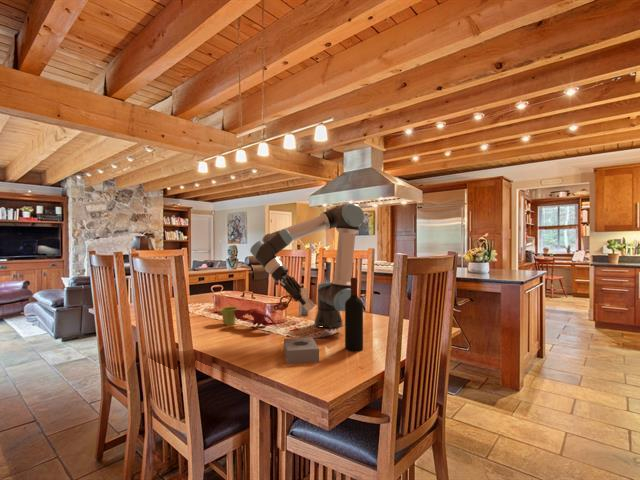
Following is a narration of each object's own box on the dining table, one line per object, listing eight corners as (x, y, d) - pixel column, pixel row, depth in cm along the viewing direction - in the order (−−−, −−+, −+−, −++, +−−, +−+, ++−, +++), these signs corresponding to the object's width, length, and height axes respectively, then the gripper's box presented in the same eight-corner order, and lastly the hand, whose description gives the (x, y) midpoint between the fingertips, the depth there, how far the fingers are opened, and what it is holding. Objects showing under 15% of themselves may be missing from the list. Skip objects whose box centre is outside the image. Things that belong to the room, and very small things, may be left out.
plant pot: (218, 326, 185) (218, 310, 185) (223, 322, 194) (223, 306, 194) (235, 326, 185) (235, 310, 185) (239, 322, 194) (239, 306, 194)
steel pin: (307, 314, 156) (307, 287, 156) (308, 316, 152) (308, 289, 152) (298, 314, 155) (298, 288, 155) (299, 316, 151) (299, 289, 151)
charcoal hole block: (312, 348, 147) (312, 337, 147) (319, 362, 131) (319, 348, 131) (283, 350, 144) (283, 338, 144) (287, 364, 129) (287, 350, 129)
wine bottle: (341, 348, 147) (341, 278, 147) (352, 344, 152) (352, 276, 152) (355, 352, 142) (355, 279, 142) (366, 348, 147) (366, 277, 147)
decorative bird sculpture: (240, 331, 190) (225, 315, 182) (249, 318, 196) (236, 301, 187) (279, 340, 174) (265, 322, 165) (288, 325, 179) (275, 307, 171)
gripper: (278, 273, 166) (311, 310, 161) (263, 277, 149) (300, 318, 145) (289, 262, 164) (322, 299, 160) (275, 265, 148) (312, 306, 144)
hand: (311, 308), depth 153 cm, fingers closed on steel pin, 4 cm apart
